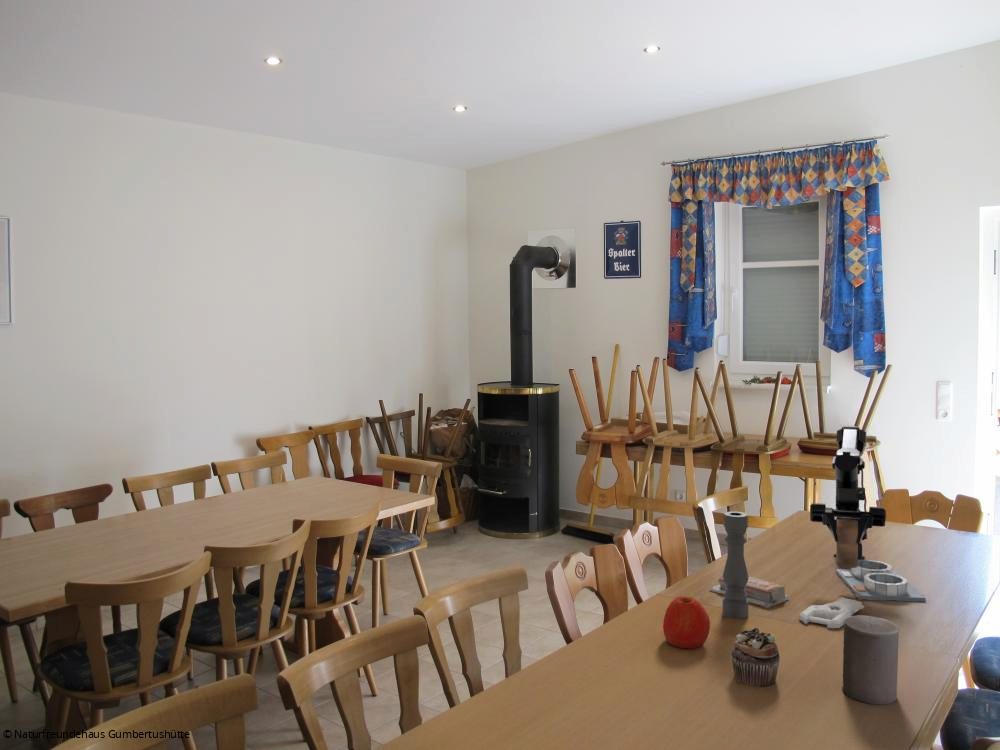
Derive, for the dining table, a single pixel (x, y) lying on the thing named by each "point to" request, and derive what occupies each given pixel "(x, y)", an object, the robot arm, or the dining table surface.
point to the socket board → (879, 597)
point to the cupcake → (755, 658)
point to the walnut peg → (847, 543)
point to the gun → (831, 612)
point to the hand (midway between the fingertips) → (847, 542)
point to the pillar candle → (870, 659)
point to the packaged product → (758, 591)
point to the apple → (686, 623)
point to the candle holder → (735, 566)
